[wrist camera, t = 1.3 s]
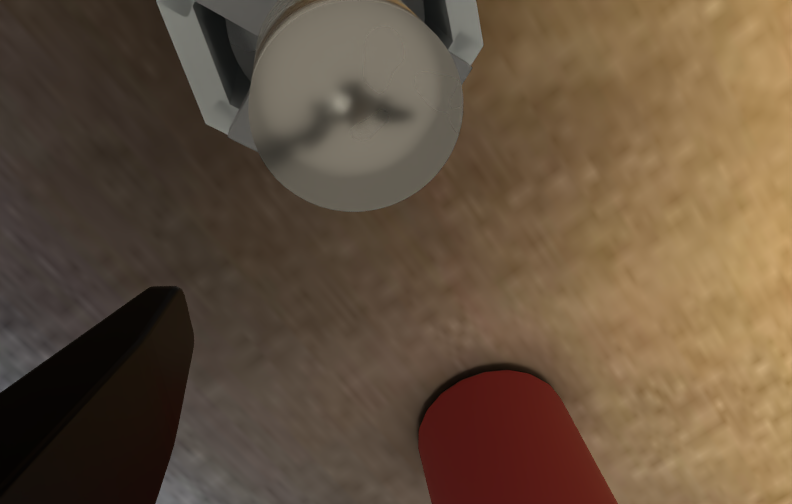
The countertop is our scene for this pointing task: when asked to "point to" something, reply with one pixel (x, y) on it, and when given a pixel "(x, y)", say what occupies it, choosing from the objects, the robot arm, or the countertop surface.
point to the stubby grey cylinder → (350, 99)
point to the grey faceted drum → (248, 7)
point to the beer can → (506, 445)
